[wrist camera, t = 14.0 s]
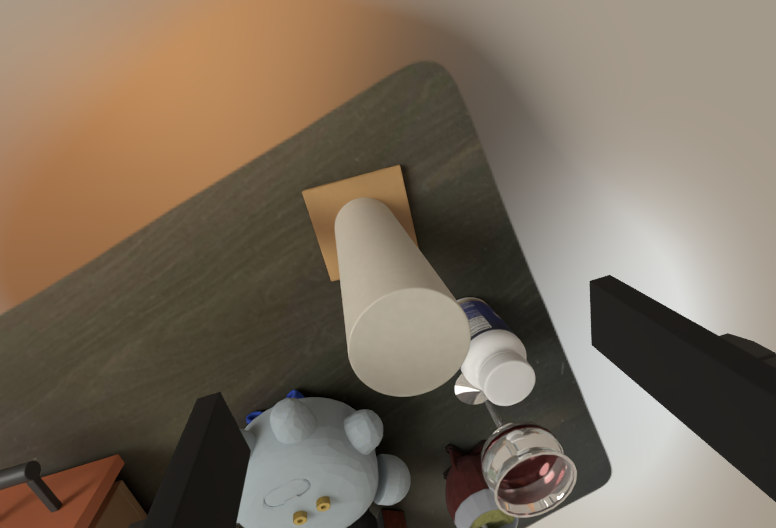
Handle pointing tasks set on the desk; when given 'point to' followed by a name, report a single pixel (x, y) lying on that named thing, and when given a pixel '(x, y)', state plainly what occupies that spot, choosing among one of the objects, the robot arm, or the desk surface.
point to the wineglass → (521, 462)
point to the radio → (391, 519)
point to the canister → (395, 305)
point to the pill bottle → (495, 356)
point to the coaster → (335, 195)
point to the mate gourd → (472, 493)
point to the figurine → (317, 466)
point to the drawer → (67, 497)
